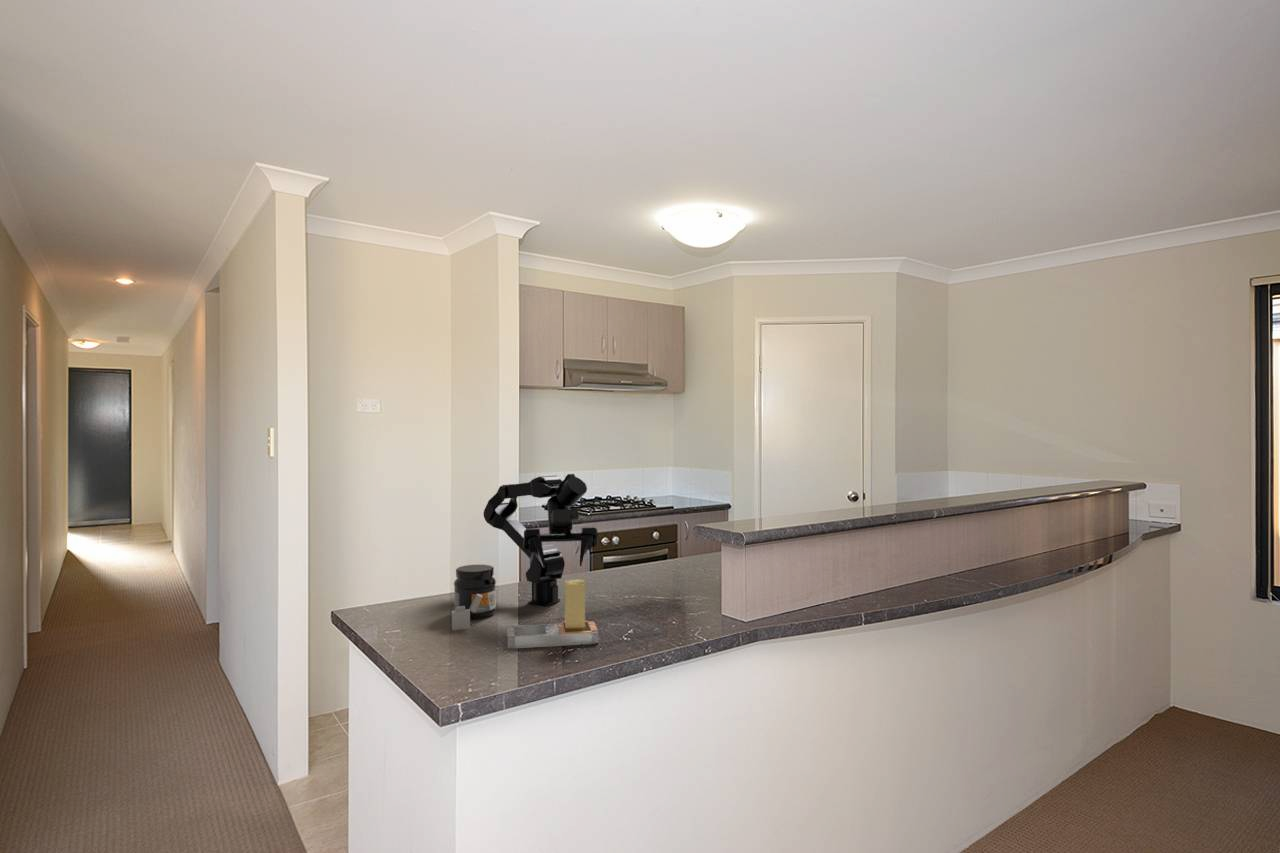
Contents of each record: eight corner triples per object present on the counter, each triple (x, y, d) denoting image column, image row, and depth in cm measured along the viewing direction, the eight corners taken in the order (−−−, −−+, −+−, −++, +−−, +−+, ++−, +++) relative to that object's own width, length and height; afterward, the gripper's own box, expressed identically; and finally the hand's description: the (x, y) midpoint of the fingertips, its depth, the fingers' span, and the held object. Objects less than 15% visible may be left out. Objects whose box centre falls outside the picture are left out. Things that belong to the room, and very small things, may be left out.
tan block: (565, 642, 161) (565, 584, 160) (564, 635, 165) (564, 580, 165) (585, 641, 161) (585, 584, 161) (584, 635, 166) (584, 579, 166)
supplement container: (501, 616, 181) (501, 569, 181) (460, 622, 176) (460, 574, 176) (488, 607, 190) (488, 562, 190) (448, 612, 185) (448, 566, 185)
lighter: (452, 630, 169) (452, 596, 169) (451, 628, 171) (451, 595, 171) (482, 627, 172) (482, 594, 172) (481, 625, 173) (481, 592, 173)
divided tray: (507, 648, 156) (507, 636, 156) (507, 636, 165) (507, 624, 165) (598, 643, 160) (598, 631, 160) (593, 631, 168) (593, 620, 168)
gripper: (523, 497, 181) (525, 548, 170) (596, 496, 184) (602, 546, 174) (523, 523, 189) (524, 574, 178) (592, 521, 192) (598, 571, 182)
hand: (562, 566), depth 178 cm, fingers open, 9 cm apart
